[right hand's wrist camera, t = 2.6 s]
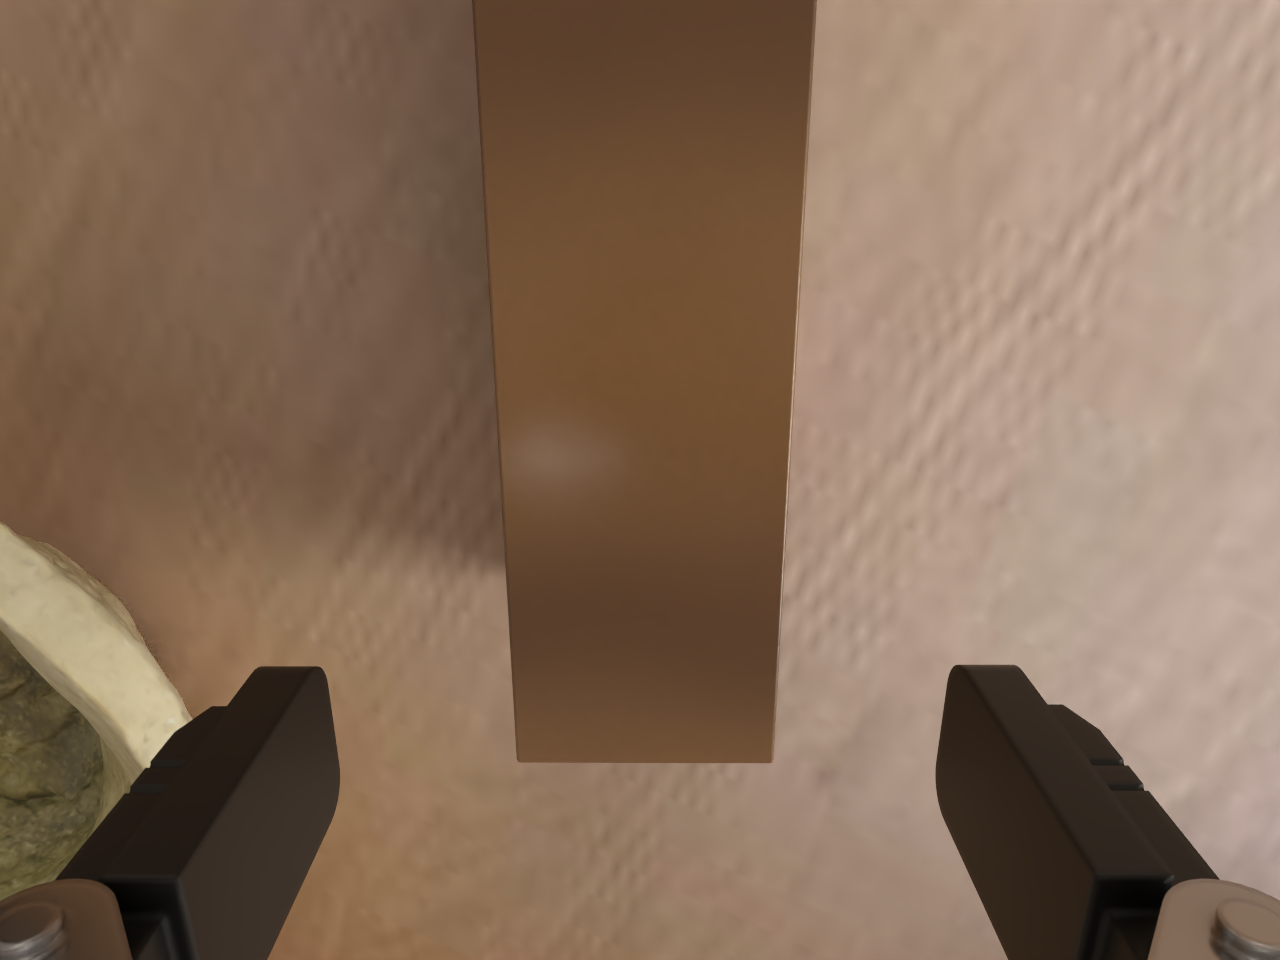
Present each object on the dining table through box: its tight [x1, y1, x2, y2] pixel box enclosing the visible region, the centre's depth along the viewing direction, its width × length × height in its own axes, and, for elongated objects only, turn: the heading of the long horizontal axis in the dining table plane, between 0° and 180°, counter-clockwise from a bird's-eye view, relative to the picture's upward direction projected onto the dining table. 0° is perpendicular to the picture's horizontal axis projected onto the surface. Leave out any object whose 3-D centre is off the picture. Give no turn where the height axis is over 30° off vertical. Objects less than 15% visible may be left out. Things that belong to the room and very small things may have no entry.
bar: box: [472, 0, 817, 763], centre depth 16 cm, size 26×5×8 cm, turn 0°
